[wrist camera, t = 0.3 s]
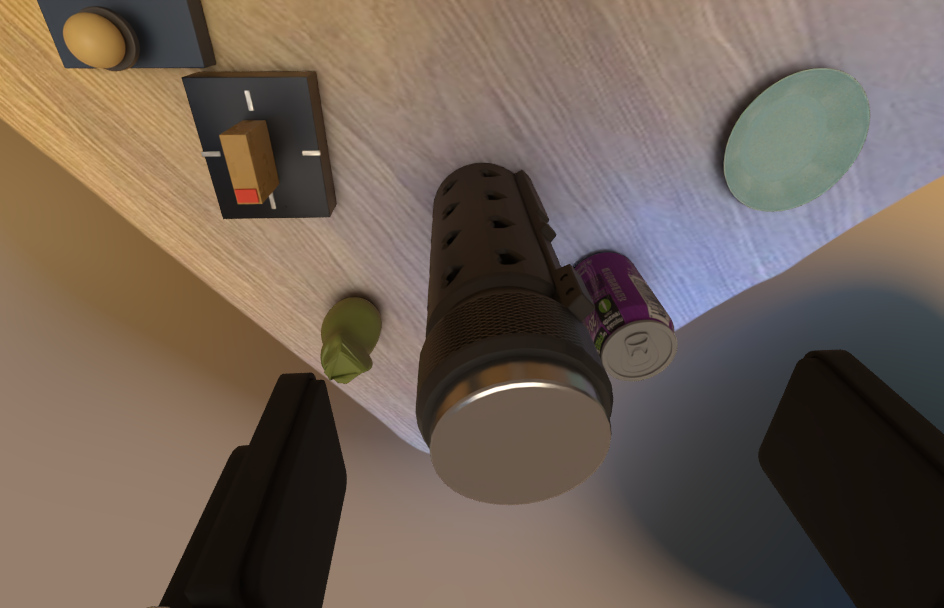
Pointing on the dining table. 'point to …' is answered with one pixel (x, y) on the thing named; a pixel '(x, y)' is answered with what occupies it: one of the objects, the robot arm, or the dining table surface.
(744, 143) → the saucer
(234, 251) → the dining table surface
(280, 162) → the base
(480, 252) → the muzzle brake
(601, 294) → the beverage can
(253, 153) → the orange brown rectangular block
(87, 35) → the lamp dome
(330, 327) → the pear
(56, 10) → the button base
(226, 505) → the robot arm
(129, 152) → the dining table surface
